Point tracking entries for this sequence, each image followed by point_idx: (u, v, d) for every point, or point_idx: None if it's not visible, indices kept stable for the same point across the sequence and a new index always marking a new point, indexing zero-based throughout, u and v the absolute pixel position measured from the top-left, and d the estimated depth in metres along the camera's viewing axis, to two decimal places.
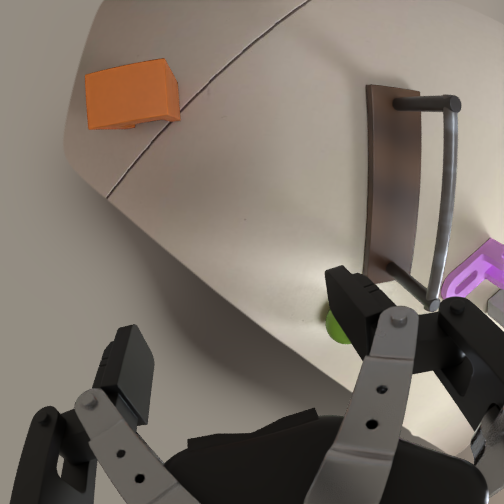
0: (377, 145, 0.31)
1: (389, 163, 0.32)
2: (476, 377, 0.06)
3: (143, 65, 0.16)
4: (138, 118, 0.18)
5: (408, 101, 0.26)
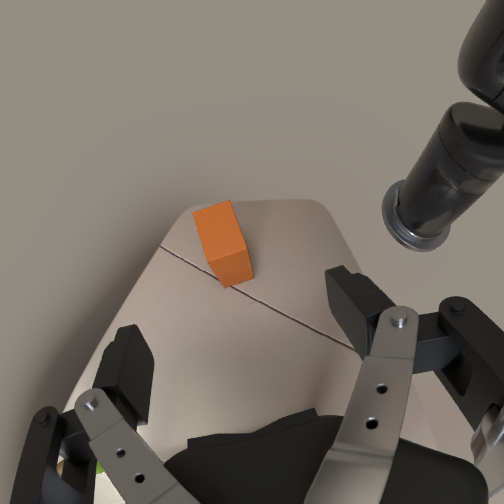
0: None
1: None
2: (476, 377, 0.06)
3: (239, 236, 0.30)
4: (202, 243, 0.30)
5: None
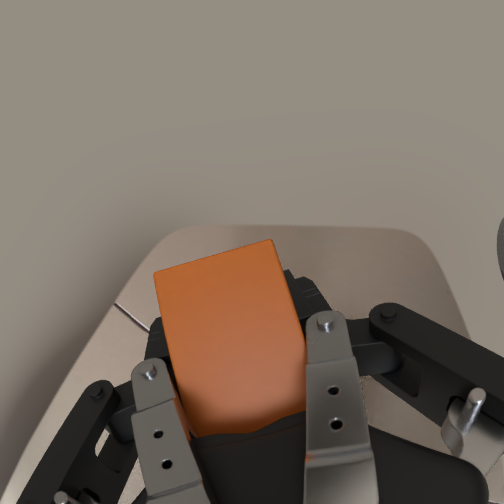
0: None
1: None
2: (427, 376, 0.07)
3: (303, 369, 0.08)
4: (178, 382, 0.08)
5: None
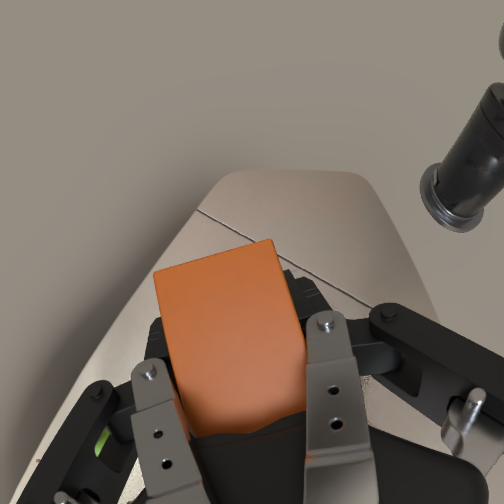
0: None
1: None
2: (428, 376, 0.07)
3: (303, 369, 0.08)
4: (178, 382, 0.08)
5: None
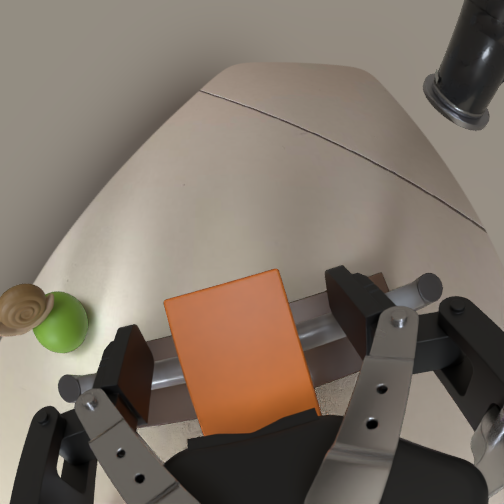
0: (308, 303, 0.24)
1: None
2: (476, 377, 0.06)
3: (305, 390, 0.09)
4: (194, 402, 0.09)
5: None
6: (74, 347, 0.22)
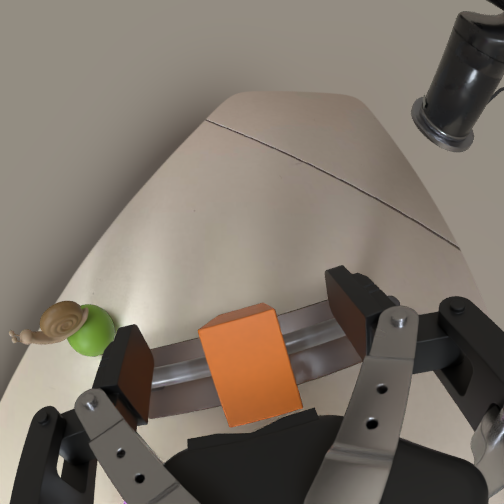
0: (299, 314, 0.30)
1: None
2: (476, 377, 0.06)
3: (291, 386, 0.15)
4: (219, 395, 0.15)
5: None
6: (103, 351, 0.28)
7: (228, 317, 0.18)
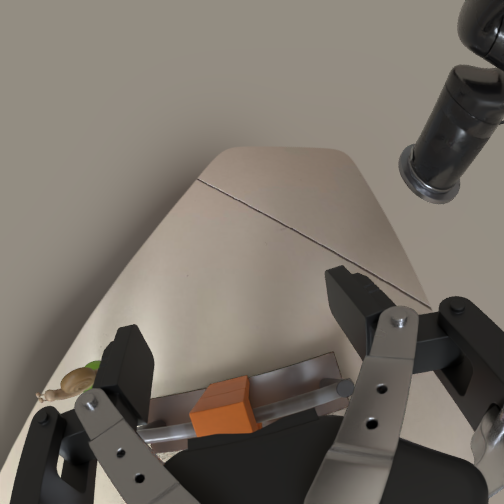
0: (277, 373, 0.33)
1: (264, 391, 0.33)
2: (476, 377, 0.06)
3: None
4: None
5: (331, 378, 0.30)
6: None
7: (213, 398, 0.23)
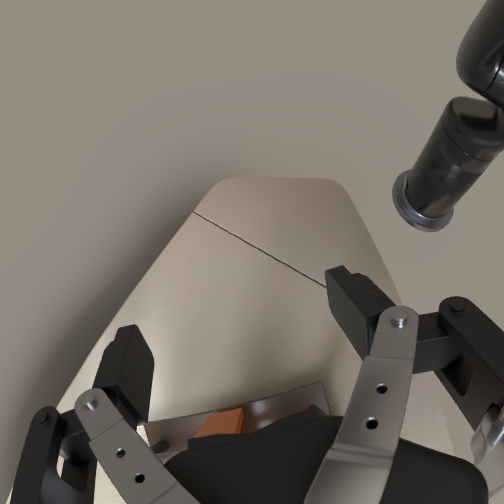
0: (269, 401, 0.36)
1: (257, 417, 0.35)
2: (476, 377, 0.06)
3: None
4: None
5: (317, 408, 0.32)
6: None
7: (209, 431, 0.25)
